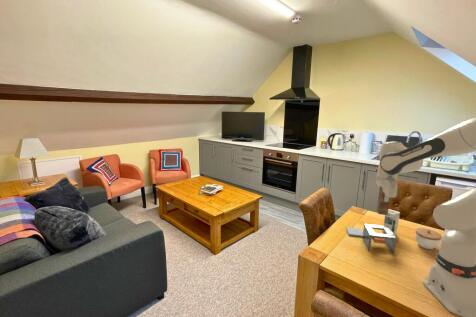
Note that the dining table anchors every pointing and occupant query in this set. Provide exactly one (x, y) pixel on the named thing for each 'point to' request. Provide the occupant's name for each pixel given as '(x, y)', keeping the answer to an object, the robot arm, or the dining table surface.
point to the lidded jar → (427, 238)
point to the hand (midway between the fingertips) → (383, 199)
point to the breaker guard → (379, 236)
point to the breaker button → (378, 240)
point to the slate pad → (354, 232)
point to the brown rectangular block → (382, 203)
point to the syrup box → (391, 221)
